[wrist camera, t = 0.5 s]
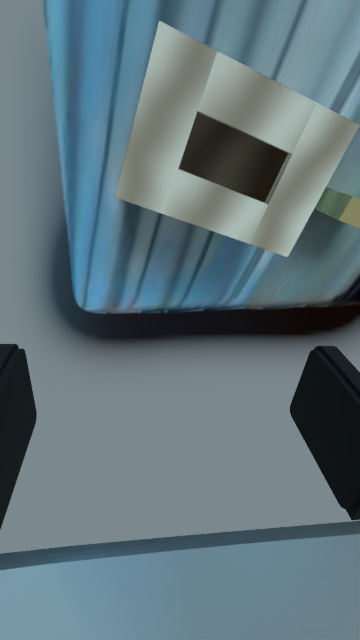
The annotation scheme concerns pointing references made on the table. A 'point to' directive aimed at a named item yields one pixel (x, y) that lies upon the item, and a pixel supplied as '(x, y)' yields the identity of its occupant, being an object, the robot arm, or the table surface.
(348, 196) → the yellow flat block
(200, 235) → the table surface
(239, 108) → the box
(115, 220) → the table surface
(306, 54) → the table surface
